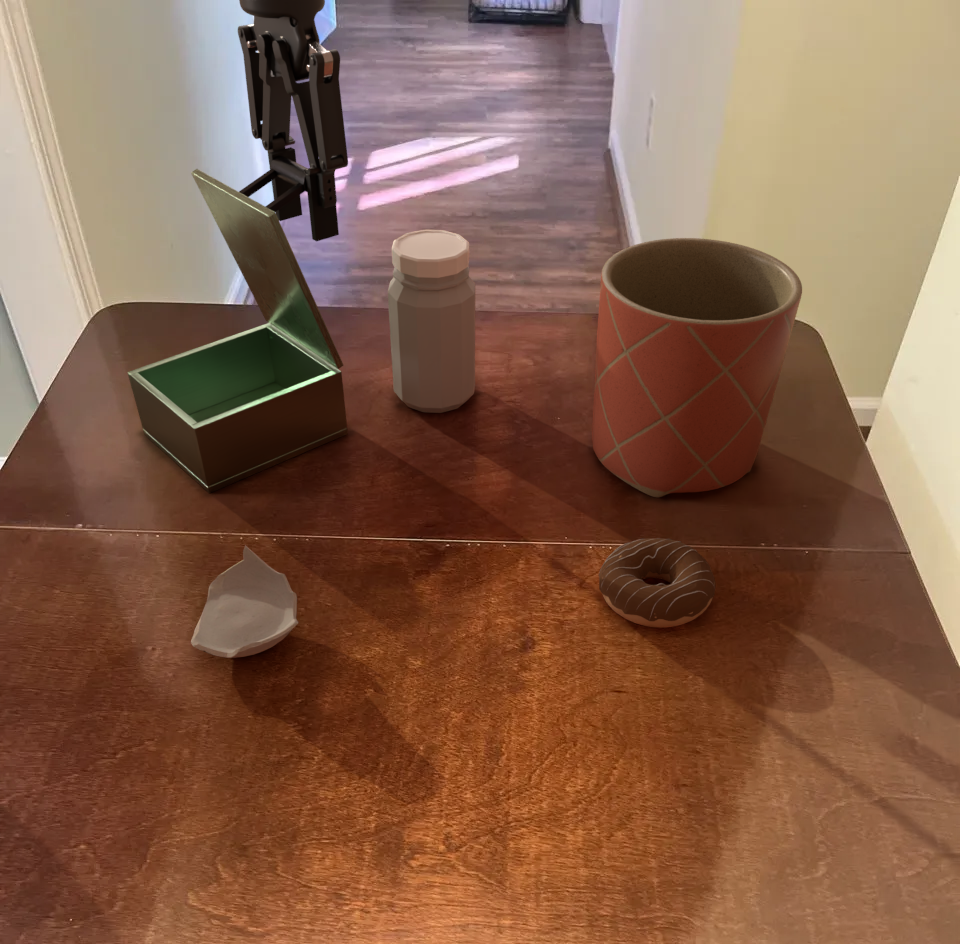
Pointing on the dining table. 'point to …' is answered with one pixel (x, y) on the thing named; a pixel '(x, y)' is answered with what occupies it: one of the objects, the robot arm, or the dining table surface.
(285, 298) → the lid
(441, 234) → the jar
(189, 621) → the dining table surface
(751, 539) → the dining table surface
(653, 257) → the planter
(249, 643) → the pottery shard
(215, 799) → the dining table surface
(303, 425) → the compartment
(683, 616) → the donut
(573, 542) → the dining table surface
